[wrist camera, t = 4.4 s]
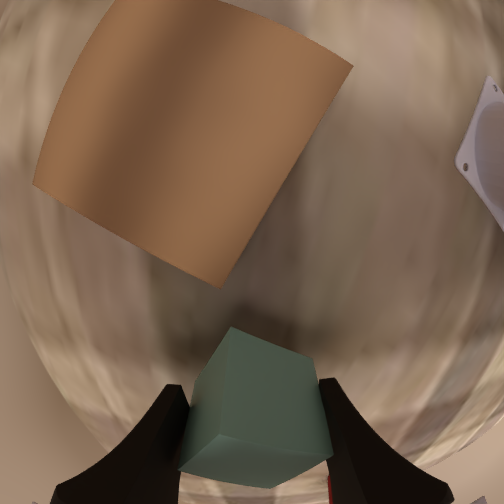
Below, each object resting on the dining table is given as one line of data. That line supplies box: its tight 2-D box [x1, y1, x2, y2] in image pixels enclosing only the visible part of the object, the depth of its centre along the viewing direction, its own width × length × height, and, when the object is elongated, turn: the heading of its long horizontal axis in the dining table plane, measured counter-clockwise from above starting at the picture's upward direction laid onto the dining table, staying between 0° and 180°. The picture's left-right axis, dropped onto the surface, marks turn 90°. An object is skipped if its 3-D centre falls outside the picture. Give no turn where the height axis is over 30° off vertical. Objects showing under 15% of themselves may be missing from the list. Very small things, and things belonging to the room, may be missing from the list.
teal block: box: [177, 327, 334, 489], centre depth 9 cm, size 4×4×5 cm
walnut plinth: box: [32, 0, 353, 289], centre depth 10 cm, size 10×10×3 cm
